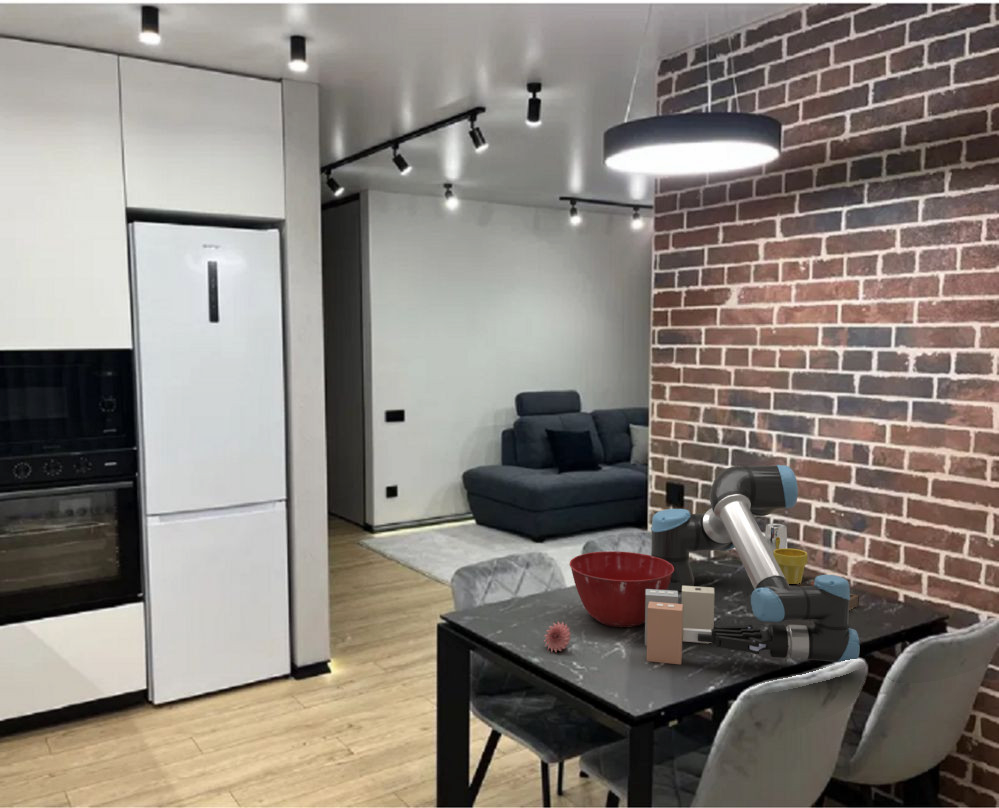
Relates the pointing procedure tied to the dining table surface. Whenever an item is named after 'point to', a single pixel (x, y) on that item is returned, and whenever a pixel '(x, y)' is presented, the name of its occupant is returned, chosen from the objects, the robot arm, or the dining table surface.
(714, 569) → the dining table surface
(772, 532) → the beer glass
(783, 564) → the plant pot
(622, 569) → the mixing bowl
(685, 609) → the cream block
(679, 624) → the terracotta block
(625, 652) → the dining table surface
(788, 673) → the dining table surface
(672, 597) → the grey block
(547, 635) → the flower
